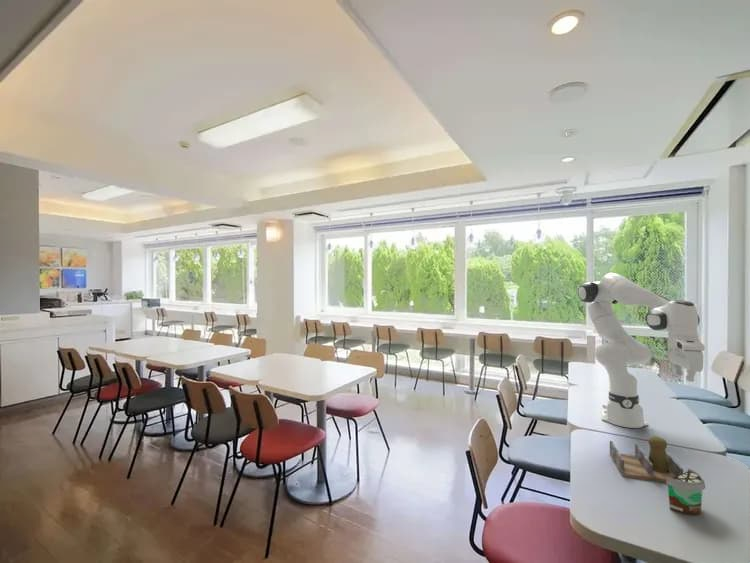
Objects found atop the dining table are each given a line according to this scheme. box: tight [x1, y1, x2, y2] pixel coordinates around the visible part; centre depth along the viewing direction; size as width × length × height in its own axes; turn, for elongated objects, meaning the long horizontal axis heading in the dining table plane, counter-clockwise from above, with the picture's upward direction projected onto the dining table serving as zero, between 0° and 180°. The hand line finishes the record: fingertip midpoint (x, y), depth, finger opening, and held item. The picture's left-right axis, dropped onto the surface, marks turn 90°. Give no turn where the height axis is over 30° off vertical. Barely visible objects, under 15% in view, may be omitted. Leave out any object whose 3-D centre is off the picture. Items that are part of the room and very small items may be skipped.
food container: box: [665, 467, 706, 517], centre depth 103 cm, size 12×6×10 cm, turn 114°
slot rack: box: [609, 440, 684, 484], centre depth 126 cm, size 16×17×6 cm
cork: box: [647, 436, 669, 473], centre depth 124 cm, size 6×6×11 cm
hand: (684, 377), depth 134 cm, fingers open, 8 cm apart
